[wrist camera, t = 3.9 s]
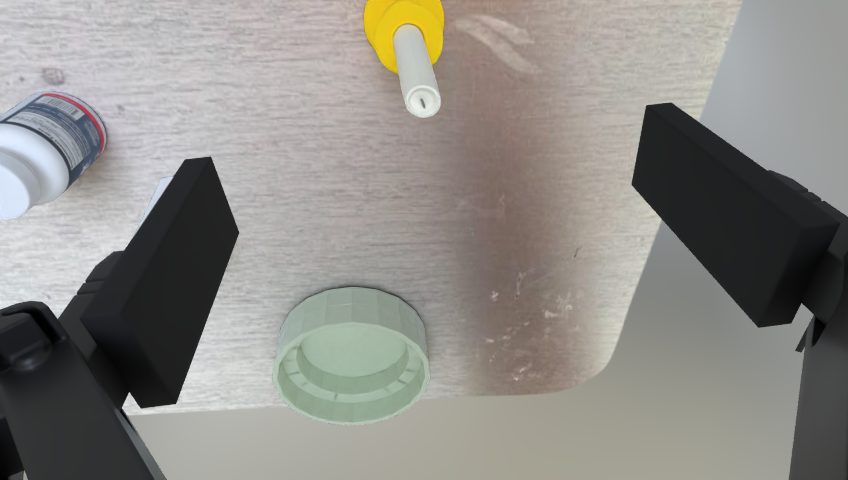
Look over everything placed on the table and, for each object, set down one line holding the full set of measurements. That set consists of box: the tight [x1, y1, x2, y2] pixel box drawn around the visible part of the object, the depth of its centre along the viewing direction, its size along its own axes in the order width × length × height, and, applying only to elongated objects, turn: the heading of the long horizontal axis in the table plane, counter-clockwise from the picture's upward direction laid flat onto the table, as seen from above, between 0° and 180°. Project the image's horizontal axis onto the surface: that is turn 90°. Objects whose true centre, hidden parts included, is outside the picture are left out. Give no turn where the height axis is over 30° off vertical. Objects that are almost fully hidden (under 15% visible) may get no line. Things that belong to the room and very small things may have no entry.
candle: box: [363, 0, 444, 118], centre depth 26 cm, size 5×5×16 cm
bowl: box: [272, 287, 430, 425], centre depth 47 cm, size 14×14×5 cm
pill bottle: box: [0, 92, 106, 220], centre depth 31 cm, size 5×5×9 cm
